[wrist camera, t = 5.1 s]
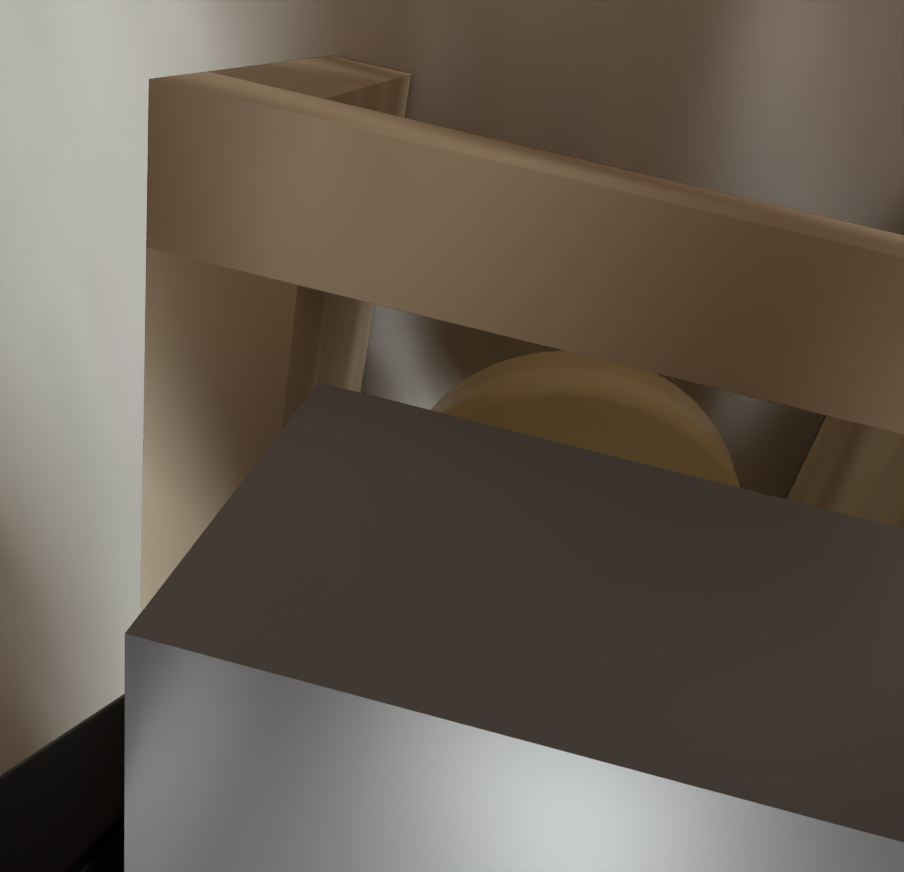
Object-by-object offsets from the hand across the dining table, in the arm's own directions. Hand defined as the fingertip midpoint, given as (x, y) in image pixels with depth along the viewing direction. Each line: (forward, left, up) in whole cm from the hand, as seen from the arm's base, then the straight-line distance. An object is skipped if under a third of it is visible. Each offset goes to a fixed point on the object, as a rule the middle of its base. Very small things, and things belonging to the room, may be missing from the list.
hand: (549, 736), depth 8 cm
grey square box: (0, 0, -4) cm, 4 cm away
